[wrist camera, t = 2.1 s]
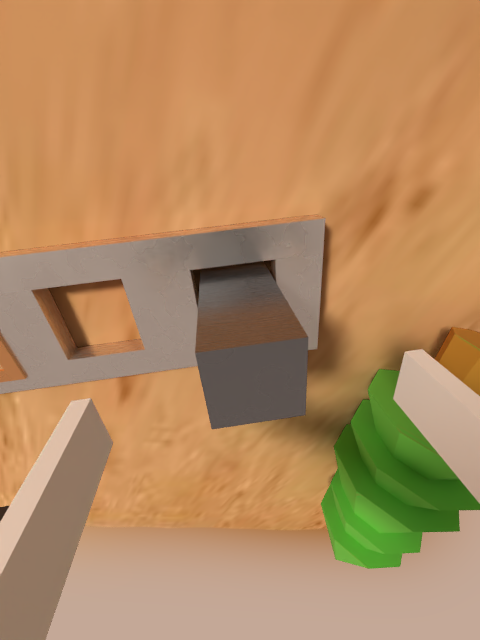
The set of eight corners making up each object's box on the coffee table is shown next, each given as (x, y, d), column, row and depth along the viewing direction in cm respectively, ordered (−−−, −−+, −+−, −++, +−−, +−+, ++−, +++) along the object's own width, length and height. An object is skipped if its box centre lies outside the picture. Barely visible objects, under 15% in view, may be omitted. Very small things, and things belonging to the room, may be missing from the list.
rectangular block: (200, 268, 19) (194, 352, 10) (263, 261, 19) (308, 337, 11) (209, 323, 21) (211, 429, 13) (266, 315, 22) (305, 414, 13)
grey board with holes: (-191, 274, 17) (-232, 285, 15) (316, 214, 18) (326, 218, 17) (-80, 392, 22) (-102, 410, 20) (310, 338, 23) (318, 350, 22)
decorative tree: (677, 432, 13) (395, 652, 26) (520, 333, 23) (374, 526, 36) (429, 357, 15) (280, 597, 28) (384, 295, 25) (291, 492, 38)
